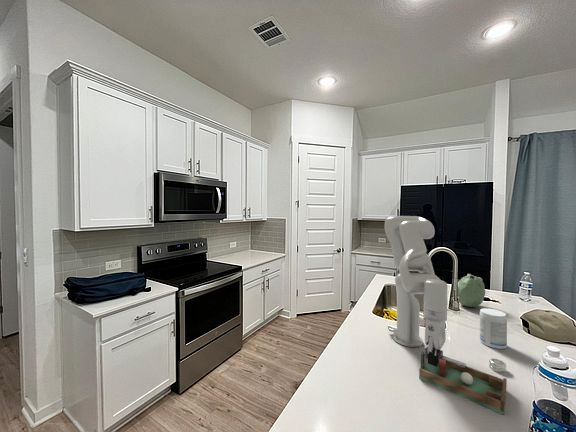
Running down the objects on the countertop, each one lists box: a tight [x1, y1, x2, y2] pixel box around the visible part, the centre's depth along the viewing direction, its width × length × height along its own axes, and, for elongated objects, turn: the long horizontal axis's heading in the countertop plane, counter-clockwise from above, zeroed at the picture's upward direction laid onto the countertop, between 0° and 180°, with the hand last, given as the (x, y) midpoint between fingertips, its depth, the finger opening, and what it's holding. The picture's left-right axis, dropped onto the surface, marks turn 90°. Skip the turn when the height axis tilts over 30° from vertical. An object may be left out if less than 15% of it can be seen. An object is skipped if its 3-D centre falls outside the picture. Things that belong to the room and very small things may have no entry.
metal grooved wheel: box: [488, 358, 507, 374], centre depth 95 cm, size 5×3×5 cm
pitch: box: [418, 351, 508, 416], centre depth 86 cm, size 24×14×6 cm, turn 46°
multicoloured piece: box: [424, 345, 467, 377], centre depth 89 cm, size 12×3×7 cm, turn 46°
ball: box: [460, 372, 473, 385], centre depth 85 cm, size 4×4×4 cm
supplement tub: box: [479, 307, 508, 350], centre depth 112 cm, size 10×10×15 cm
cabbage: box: [457, 273, 486, 308], centre depth 158 cm, size 16×19×20 cm
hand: (433, 361), depth 92 cm, fingers closed on multicoloured piece, 3 cm apart
